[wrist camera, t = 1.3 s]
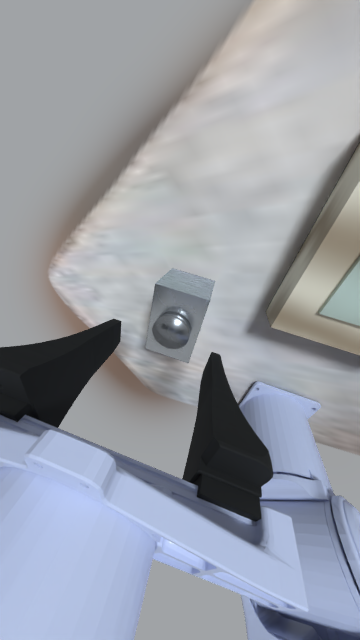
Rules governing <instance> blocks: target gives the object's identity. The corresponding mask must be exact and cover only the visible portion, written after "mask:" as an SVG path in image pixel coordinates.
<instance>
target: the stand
mask: <svg viewBox="0 0 360 640" xmlns="http://www.w3.org/2000/svg"><path fill="white" fill-rule="evenodd" d="M266 314H267V317H268V320H269V323H270V326H271V327H272V328H275V329H278V330H281V331H284V332H287V333H290V334H294V335H297V336H300V337H303V338H306V339H309V340H312V341H316V342H319V343H322V344H325V345H328V346H331V347H335V348H338V349H341V350H344V351H347V352H350V353H353V354H357V355H360V143H359V145H358V146H357V148H356V150H355V152H354V154H353V155H352V157H351V159H350V161H349V163H348V164H347V166H346V168H345V170H344V172H343V173H342V175H341V177H340V179H339V181H338V182H337V184H336V186H335V188H334V190H333V191H332V193H331V195H330V197H329V199H328V200H327V202H326V204H325V206H324V208H323V209H322V211H321V213H320V215H319V217H318V218H317V220H316V222H315V224H314V226H313V227H312V229H311V231H310V233H309V235H308V236H307V238H306V240H305V242H304V244H303V245H302V247H301V249H300V251H299V253H298V254H297V256H296V258H295V260H294V262H293V263H292V265H291V267H290V269H289V271H288V272H287V274H286V276H285V278H284V280H283V281H282V283H281V285H280V287H279V289H278V290H277V292H276V294H275V296H274V298H273V299H272V301H271V303H270V305H269V307H268V308H267V310H266Z"/></svg>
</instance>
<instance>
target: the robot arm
mask: <svg viewBox="0 0 360 640" xmlns="http://www.w3.org/2000/svg"><path fill="white" fill-rule="evenodd" d="M120 335H121V321H119V320H116V319H112V320H110V321H107V322H105V323H102V324H100V325H98V326H95V327H93V328H90V329H88V330H85V331H82V332H79V333H77V334H74V335H71V336H68V337H63V338H60V339H56V340H51V341H46V342H42V343H36V344H29V345H22V346H13V347H1V348H0V640H134V637H135V633H136V628H137V624H138V620H139V616H140V611H141V607H142V602H143V598H144V594H145V589H146V585H147V581H148V577H149V573H150V568H151V564H152V560H153V559H154V560H157V561H159V562H161V563H164V564H166V565H169V566H172V567H174V568H176V569H179V570H181V571H184V572H187V573H189V574H192V575H194V576H196V577H199V578H202V579H204V580H207V581H209V582H212V583H214V584H217V585H219V586H221V587H224V588H226V589H229V590H231V591H234V592H236V593H238V594H241V599H242V604H243V609H244V614H245V621H246V629H247V636H248V640H360V513H359V512H358V510H357V509H356V508H355V507H354V506H353V505H351V504H350V503H349V502H348V501H347V500H346V499H344V497H342V496H335V495H334V493H333V490H332V487H331V485H330V482H329V479H328V476H327V473H326V471H325V468H324V465H323V462H322V459H321V457H320V454H319V451H318V448H317V445H316V442H315V440H314V437H313V434H312V431H311V428H310V426H309V423H308V420H307V419H308V418H309V417H311V416H312V415H313V414H314V413H315V412H316V411H317V410H318V409H320V407H321V406H320V404H319V403H318V402H316V401H313V400H310V399H307V398H304V397H301V396H299V395H296V394H293V393H290V392H287V391H284V390H281V389H278V388H276V387H273V386H270V385H267V384H264V383H261V382H255V383H254V384H253V386H252V387H251V389H250V390H249V392H248V393H247V395H246V396H245V398H244V399H243V400H242V402H241V403H240V405H239V406H238V404H237V402H236V400H235V398H234V396H233V393H232V391H231V389H230V386H229V384H228V381H227V378H226V375H225V372H224V368H223V365H222V361H221V356H220V355H219V354H216V353H213V352H211V355H210V357H209V359H208V362H207V364H206V366H205V369H204V371H203V375H202V380H201V385H200V393H199V402H198V411H197V417H196V422H195V427H194V432H193V436H192V441H191V445H190V449H189V454H188V458H187V463H186V466H185V471H184V475H183V479H180V478H178V477H175V476H173V475H170V474H168V473H165V472H163V471H161V470H158V469H156V468H153V467H151V466H148V465H146V464H143V463H141V462H139V461H136V460H134V459H131V458H129V457H127V456H124V455H122V454H119V453H117V452H115V451H112V450H110V449H107V448H105V447H102V446H100V445H98V444H95V443H93V442H90V441H88V440H85V439H83V438H80V437H78V436H76V435H73V434H71V433H68V432H66V431H64V430H61V429H59V428H58V427H59V425H60V424H61V422H62V420H63V419H64V417H65V415H66V414H67V412H68V410H69V409H70V407H71V406H72V404H73V402H74V401H75V400H76V398H77V397H78V395H79V394H80V392H81V391H82V389H83V388H84V386H85V385H86V384H87V382H88V381H89V379H90V378H91V377H92V376H93V374H94V373H95V372H96V371H97V370H98V369H99V368H100V366H101V365H102V364H103V363H104V362H105V360H107V359H108V357H109V356H110V355H111V354H112V353H113V352H114V350H115V349H116V347H117V346H118V344H119V342H120Z"/></svg>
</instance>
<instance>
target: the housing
mask: <svg viewBox="0 0 360 640" xmlns="http://www.w3.org/2000/svg"><path fill="white" fill-rule="evenodd" d="M214 284H215V281H214V280H211V279H207V278H204V277H201V276H197V275H194V274H191V273H187V272H184V271H181V270H177V269H174V268H172V269H171V270H170V271H169V272H168V273H166V274H165V275H164V276H163V277H162V278H161V279H160V280H159V281H158V282H156V283H155V289H154V295H153V302H152V308H151V315H150V322H149V328H148V335H147V341H146V349H149V350H152V351H154V352H157V353H160V354H163V355H166V356H169V357H172V358H174V359H177V360H180V361H183V362H186V363H189V360H190V357H191V354H192V351H193V348H194V345H195V343H196V340H197V337H198V334H199V331H200V328H201V325H202V322H203V319H204V316H205V314H206V311H207V308H208V305H209V302H210V299H211V295H212V291H213V287H214Z"/></svg>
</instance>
